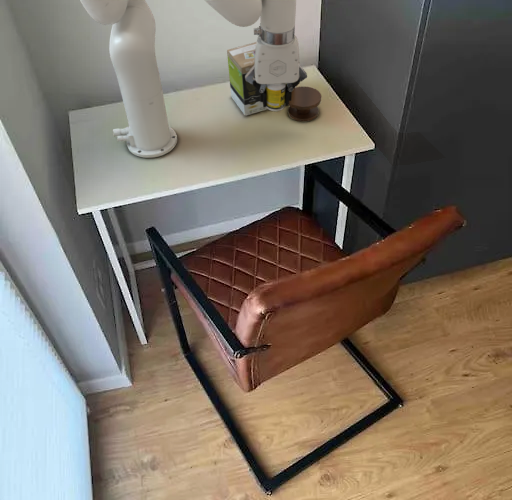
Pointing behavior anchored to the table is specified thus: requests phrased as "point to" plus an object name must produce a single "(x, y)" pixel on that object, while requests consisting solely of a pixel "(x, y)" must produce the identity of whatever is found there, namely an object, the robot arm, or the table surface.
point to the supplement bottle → (275, 96)
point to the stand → (304, 104)
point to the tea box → (243, 79)
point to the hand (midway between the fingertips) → (275, 102)
